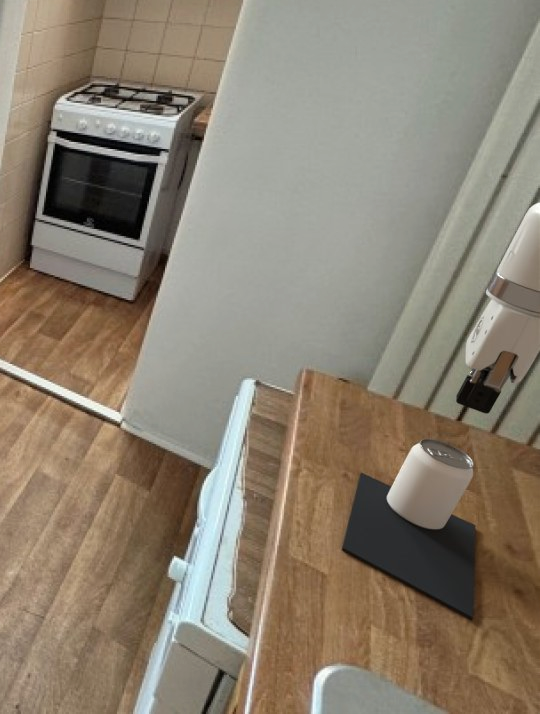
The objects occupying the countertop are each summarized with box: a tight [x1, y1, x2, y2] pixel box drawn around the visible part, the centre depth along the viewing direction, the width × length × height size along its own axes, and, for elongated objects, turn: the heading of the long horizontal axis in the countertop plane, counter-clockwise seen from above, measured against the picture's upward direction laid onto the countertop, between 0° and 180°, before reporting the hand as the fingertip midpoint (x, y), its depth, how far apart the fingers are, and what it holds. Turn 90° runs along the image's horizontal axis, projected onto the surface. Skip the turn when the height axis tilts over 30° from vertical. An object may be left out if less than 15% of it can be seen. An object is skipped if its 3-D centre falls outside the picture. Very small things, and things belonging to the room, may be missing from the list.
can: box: [387, 438, 475, 529], centre depth 90 cm, size 6×6×12 cm
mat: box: [341, 472, 476, 621], centre depth 88 cm, size 13×20×1 cm, turn 132°
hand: (471, 405), depth 84 cm, fingers closed
